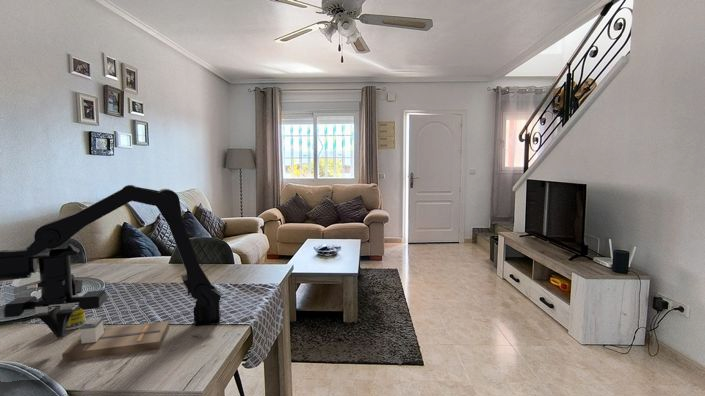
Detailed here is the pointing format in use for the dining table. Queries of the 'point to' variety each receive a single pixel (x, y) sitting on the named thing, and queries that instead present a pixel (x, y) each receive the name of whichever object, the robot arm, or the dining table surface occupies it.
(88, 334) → the fader tab
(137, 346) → the fader console
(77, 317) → the supplement bottle
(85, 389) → the dining table surface
